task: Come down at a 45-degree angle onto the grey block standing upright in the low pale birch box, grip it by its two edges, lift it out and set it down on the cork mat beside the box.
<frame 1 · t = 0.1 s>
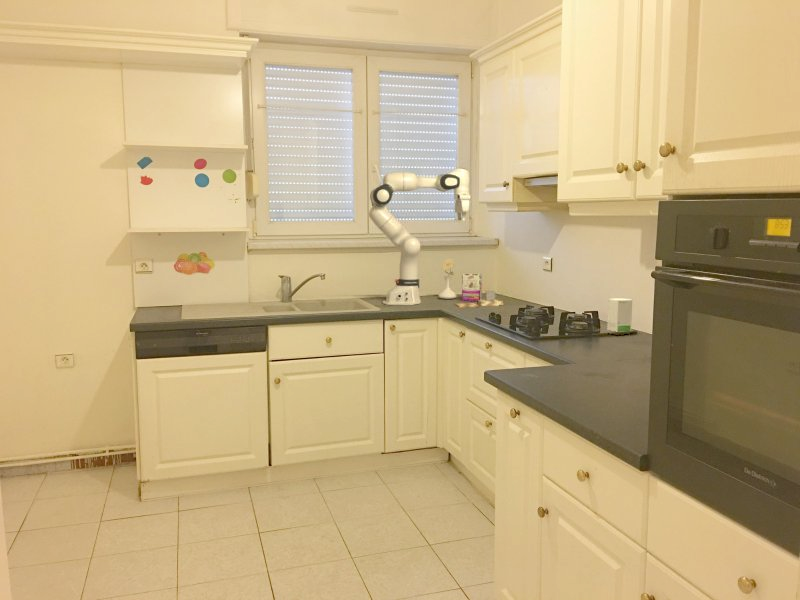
hand: (461, 220, 388), 48 cm above the countertop, tool pointing down, fingers open, 8 cm apart
candy bar box: (471, 301, 400), on the countertop
grey block: (490, 305, 383), resting in birch box
flower in vase: (448, 299, 409), on the countertop
birch box: (490, 304, 383), on the countertop
skincare box: (618, 334, 290), on the countertop
cork mat: (466, 305, 380), on the countertop
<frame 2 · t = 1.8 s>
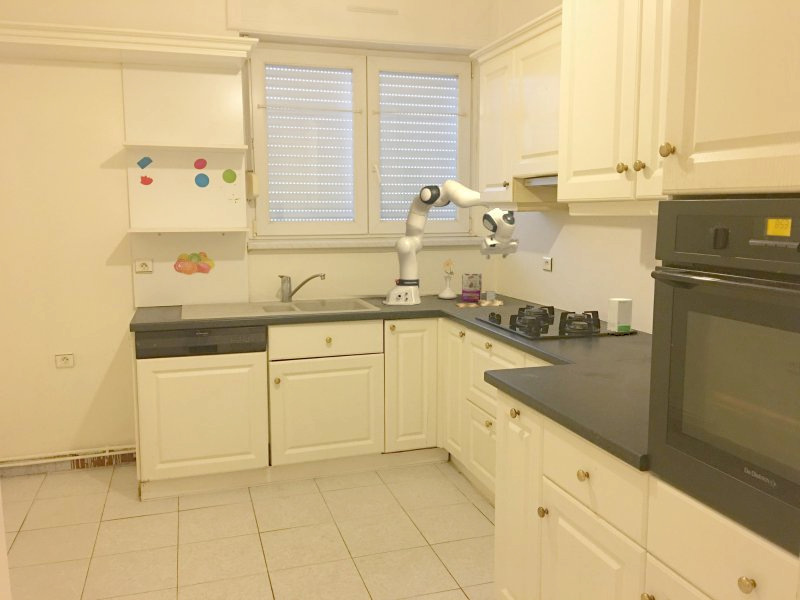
hand: (495, 257, 366), 28 cm above the countertop, tool tilted 45°, fingers open, 8 cm apart
nothing on the countertop moved.
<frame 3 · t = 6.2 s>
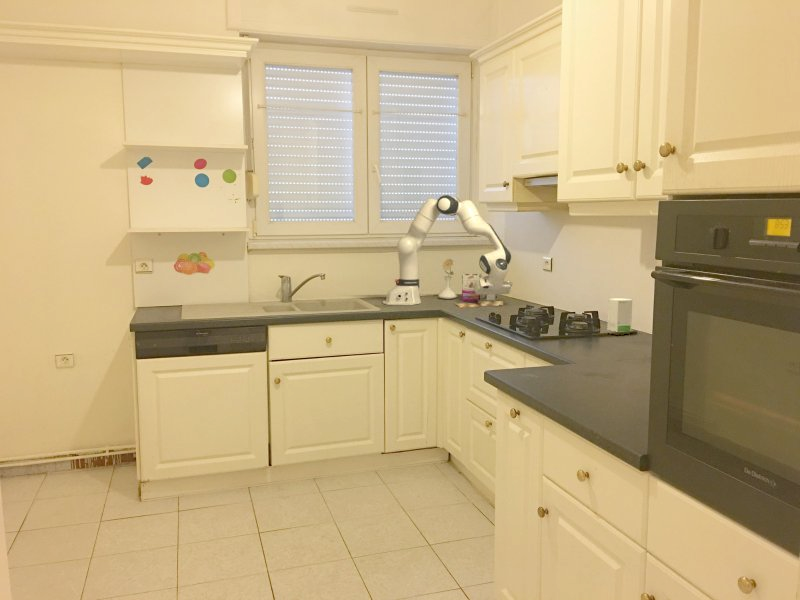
hand: (490, 297, 383), 4 cm above the countertop, tool tilted 45°, fingers closed on grey block, 5 cm apart
grey block: (490, 305, 383), resting in birch box, touching gripper
everything else where it was.
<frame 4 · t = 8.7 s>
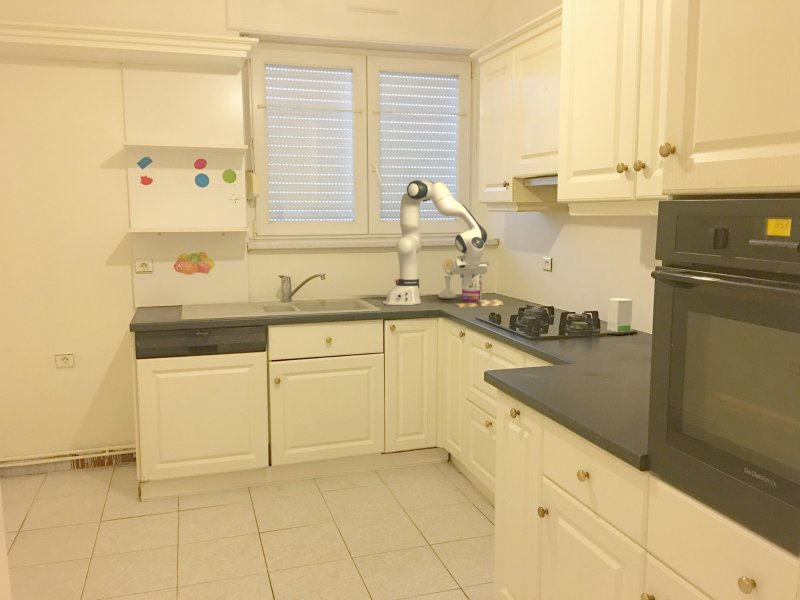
hand: (466, 277, 378), 16 cm above the countertop, tool tilted 45°, fingers closed on grey block, 5 cm apart
grey block: (467, 285, 378), point 12 cm above the countertop, touching gripper
everything else where it was.
when the fingers open (6 cm above the countertop, at t = 11.2 s): grey block stays where it is, resting on cork mat.
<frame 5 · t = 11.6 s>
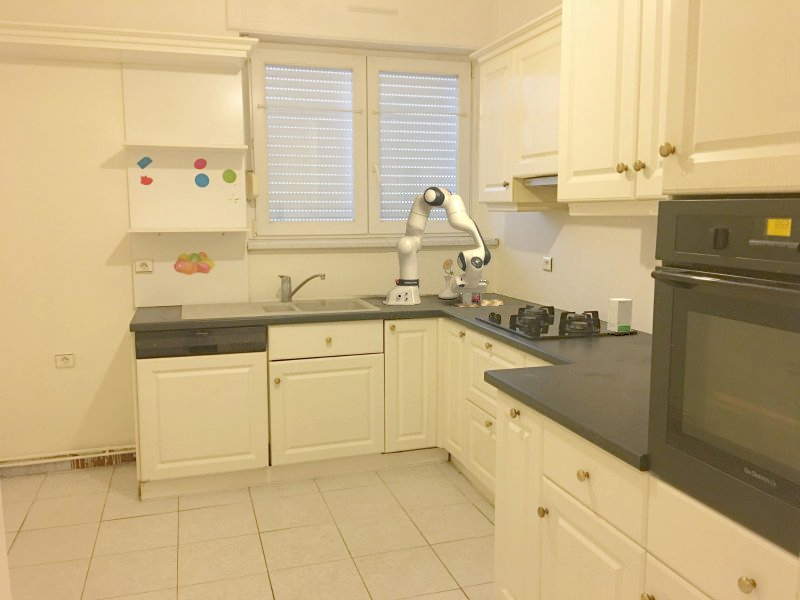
hand: (466, 295, 379), 6 cm above the countertop, tool tilted 45°, fingers open, 8 cm apart
grey block: (466, 304, 379), resting on cork mat
everything else where it was.
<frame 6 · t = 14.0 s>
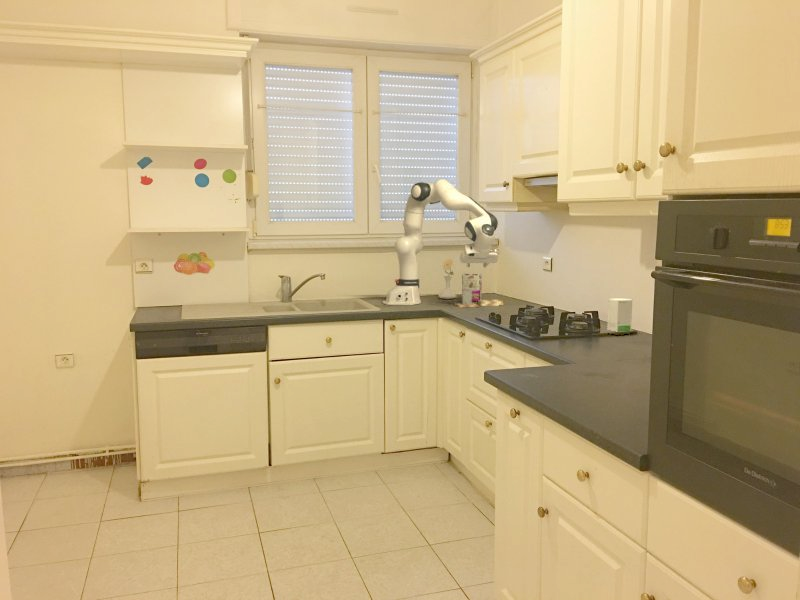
hand: (476, 266, 365), 23 cm above the countertop, tool tilted 45°, fingers open, 8 cm apart
nothing on the countertop moved.
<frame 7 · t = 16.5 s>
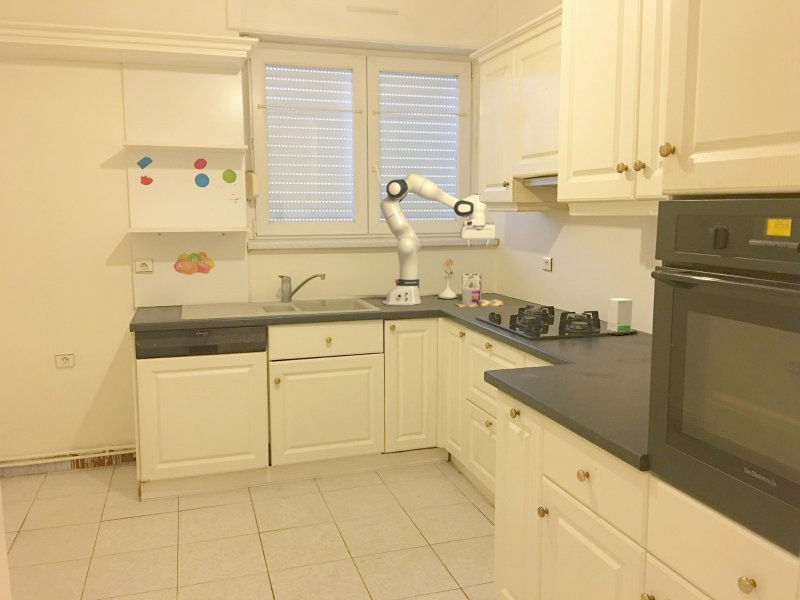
hand: (477, 246, 381), 33 cm above the countertop, tool pointing down, fingers open, 8 cm apart
nothing on the countertop moved.
at the end: grey block inside the target area (0.0 cm from its centre), point 0.5 cm above the countertop; grey block touching cork mat; the gripper is holding nothing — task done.
